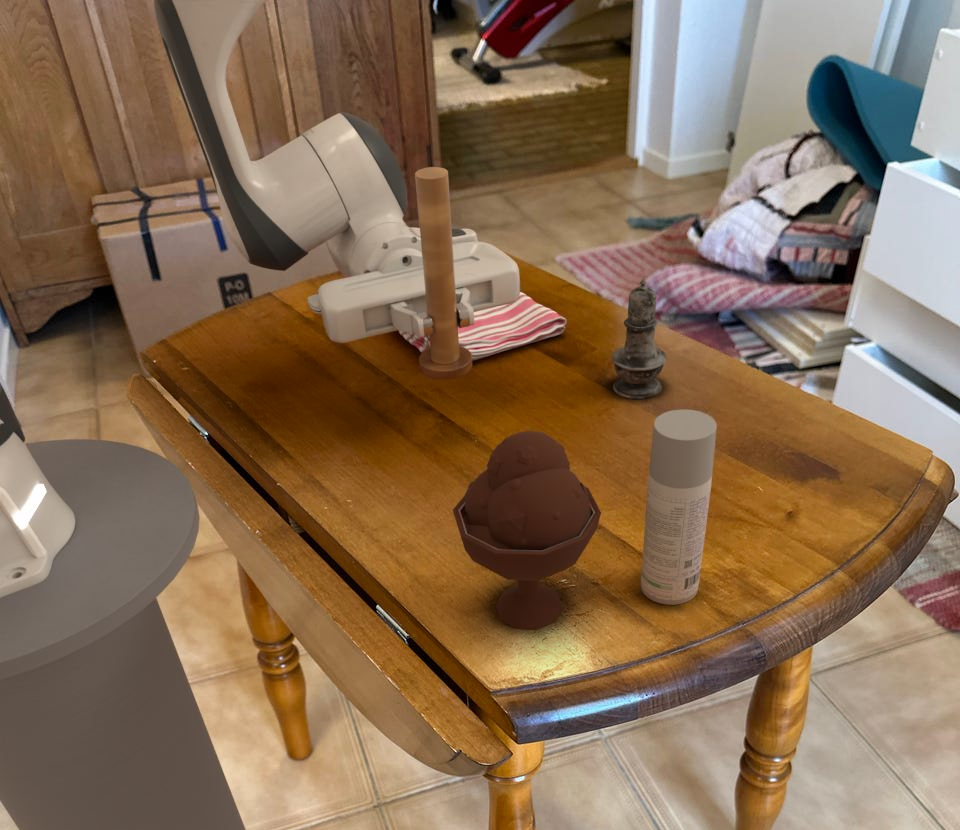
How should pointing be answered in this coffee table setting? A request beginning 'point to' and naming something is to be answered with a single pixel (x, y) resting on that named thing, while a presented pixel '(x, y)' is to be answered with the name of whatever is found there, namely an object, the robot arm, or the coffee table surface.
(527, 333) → the dish towel
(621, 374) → the salt shaker
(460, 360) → the stirring stick
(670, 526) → the container
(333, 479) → the coffee table surface
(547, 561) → the ice cream bowl
